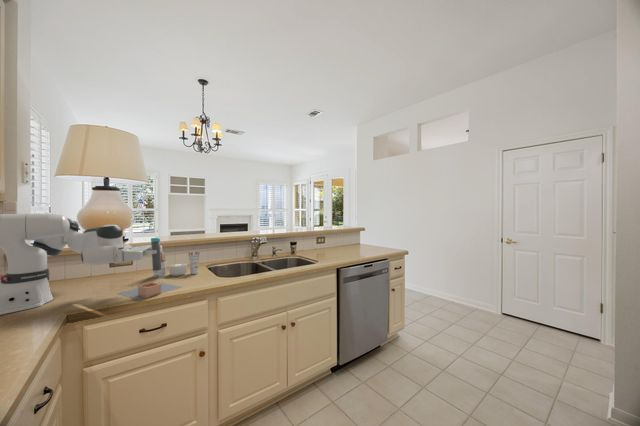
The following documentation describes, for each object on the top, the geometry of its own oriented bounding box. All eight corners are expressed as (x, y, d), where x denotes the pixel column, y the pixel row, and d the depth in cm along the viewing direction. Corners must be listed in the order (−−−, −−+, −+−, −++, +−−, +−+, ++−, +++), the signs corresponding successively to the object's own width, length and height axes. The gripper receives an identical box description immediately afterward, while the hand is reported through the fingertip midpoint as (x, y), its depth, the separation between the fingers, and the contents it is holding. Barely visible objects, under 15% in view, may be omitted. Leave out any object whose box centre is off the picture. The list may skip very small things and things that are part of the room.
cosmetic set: (200, 271, 162) (200, 242, 162) (200, 275, 154) (199, 244, 153) (154, 275, 152) (154, 245, 151) (151, 280, 143) (151, 247, 143)
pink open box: (146, 297, 113) (146, 288, 113) (138, 295, 116) (137, 286, 116) (161, 293, 119) (161, 284, 119) (152, 291, 122) (152, 282, 121)
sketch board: (140, 301, 110) (140, 300, 110) (116, 295, 118) (116, 293, 118) (182, 288, 128) (182, 286, 128) (159, 283, 137) (159, 282, 136)
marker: (155, 271, 123) (154, 238, 122) (150, 270, 125) (149, 238, 124) (163, 269, 127) (161, 237, 126) (158, 268, 128) (156, 237, 127)
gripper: (132, 255, 130) (162, 253, 135) (116, 264, 111) (153, 261, 116) (131, 243, 130) (162, 241, 135) (116, 250, 111) (152, 247, 116)
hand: (158, 250), depth 125 cm, fingers closed on marker, 4 cm apart
